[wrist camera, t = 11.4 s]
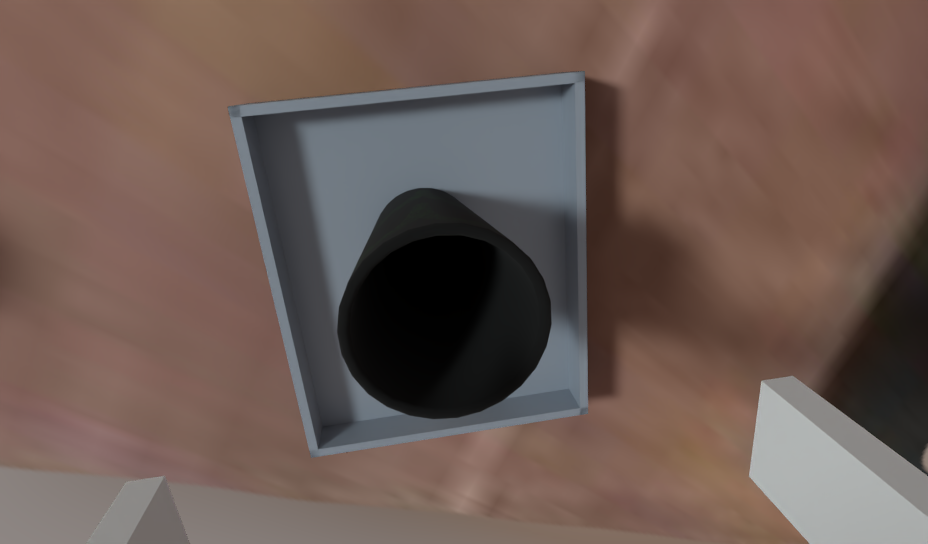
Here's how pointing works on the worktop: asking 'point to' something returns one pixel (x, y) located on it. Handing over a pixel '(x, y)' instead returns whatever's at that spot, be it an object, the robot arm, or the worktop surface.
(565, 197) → the tray
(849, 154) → the worktop surface
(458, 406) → the cup
